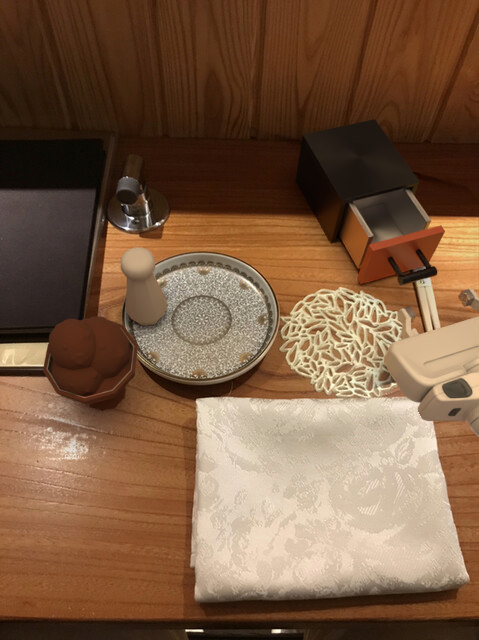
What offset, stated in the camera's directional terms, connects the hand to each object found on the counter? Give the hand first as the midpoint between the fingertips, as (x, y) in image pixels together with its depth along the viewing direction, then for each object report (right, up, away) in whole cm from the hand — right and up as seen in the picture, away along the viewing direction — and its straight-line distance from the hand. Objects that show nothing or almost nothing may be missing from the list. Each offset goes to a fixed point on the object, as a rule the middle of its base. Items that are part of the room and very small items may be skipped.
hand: (434, 300), depth 76 cm
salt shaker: (-39, -2, +5) cm, 40 cm away
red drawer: (-4, +8, +11) cm, 14 cm away
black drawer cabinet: (-8, +17, +17) cm, 26 cm away
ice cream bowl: (-44, -12, -2) cm, 46 cm away
